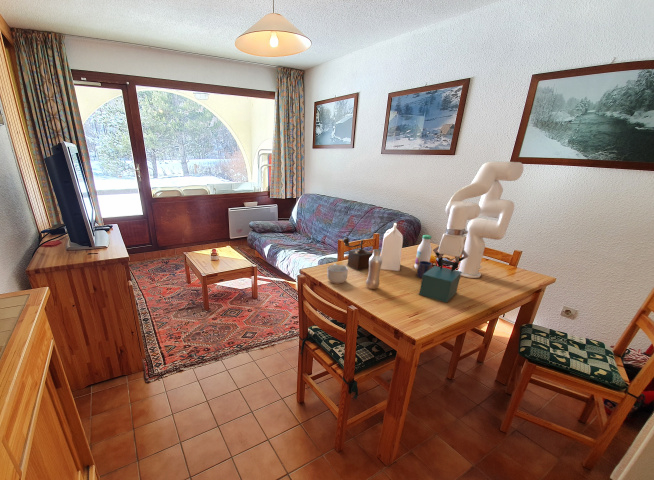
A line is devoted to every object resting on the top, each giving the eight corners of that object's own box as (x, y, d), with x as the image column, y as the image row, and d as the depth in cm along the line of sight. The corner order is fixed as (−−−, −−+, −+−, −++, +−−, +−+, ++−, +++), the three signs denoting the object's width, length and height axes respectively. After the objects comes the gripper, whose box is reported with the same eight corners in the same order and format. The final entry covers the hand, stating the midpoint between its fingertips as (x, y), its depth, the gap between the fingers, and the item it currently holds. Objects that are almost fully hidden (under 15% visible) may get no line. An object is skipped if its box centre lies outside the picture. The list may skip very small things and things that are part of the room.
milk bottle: (429, 267, 186) (435, 235, 178) (426, 271, 180) (433, 237, 172) (415, 265, 190) (421, 233, 182) (412, 268, 184) (418, 236, 176)
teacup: (346, 286, 160) (348, 271, 157) (325, 284, 162) (326, 270, 159) (346, 276, 172) (348, 263, 169) (327, 275, 174) (328, 261, 171)
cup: (421, 273, 176) (423, 260, 173) (431, 277, 171) (434, 263, 168) (414, 275, 173) (416, 262, 170) (424, 279, 168) (427, 265, 165)
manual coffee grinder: (360, 262, 194) (363, 234, 187) (371, 268, 185) (375, 238, 178) (339, 266, 188) (341, 237, 181) (350, 272, 179) (353, 241, 172)
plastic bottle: (378, 286, 160) (384, 249, 152) (378, 291, 154) (383, 253, 146) (366, 284, 162) (370, 247, 154) (365, 289, 156) (369, 251, 148)
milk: (399, 270, 180) (406, 227, 170) (378, 268, 184) (384, 225, 174) (399, 264, 191) (405, 222, 181) (379, 262, 194) (385, 221, 184)
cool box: (429, 285, 160) (433, 268, 156) (456, 293, 152) (460, 274, 148) (419, 294, 150) (422, 276, 147) (446, 302, 142) (451, 283, 139)
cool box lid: (434, 267, 157) (436, 257, 155) (461, 273, 149) (464, 262, 147) (422, 276, 147) (424, 265, 144) (451, 283, 139) (453, 272, 136)
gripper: (478, 233, 141) (468, 270, 148) (438, 227, 152) (431, 261, 159) (473, 236, 136) (464, 274, 143) (432, 230, 147) (425, 265, 154)
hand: (446, 267), depth 151 cm, fingers closed on cool box lid, 6 cm apart
